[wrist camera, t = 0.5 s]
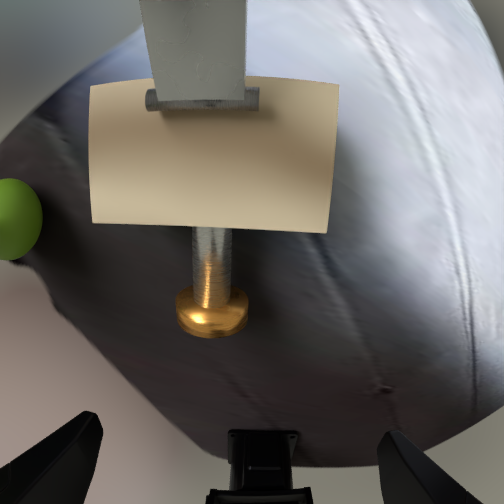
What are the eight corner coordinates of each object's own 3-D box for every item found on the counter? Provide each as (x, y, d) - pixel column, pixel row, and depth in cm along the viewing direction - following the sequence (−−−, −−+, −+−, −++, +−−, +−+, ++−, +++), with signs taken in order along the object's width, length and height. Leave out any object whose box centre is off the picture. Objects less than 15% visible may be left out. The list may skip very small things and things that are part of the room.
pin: (248, 301, 19) (246, 340, 16) (184, 297, 19) (169, 334, 16) (260, 76, 15) (261, 58, 11) (185, 76, 15) (165, 60, 11)
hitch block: (305, 202, 18) (326, 233, 12) (138, 195, 18) (92, 223, 12) (312, 100, 16) (339, 84, 10) (139, 98, 16) (90, 86, 10)
